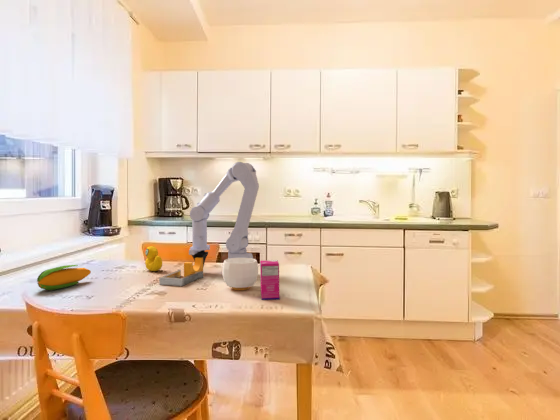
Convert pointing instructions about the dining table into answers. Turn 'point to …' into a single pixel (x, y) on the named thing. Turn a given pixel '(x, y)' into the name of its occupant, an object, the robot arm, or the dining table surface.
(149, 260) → the duckling
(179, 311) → the dining table surface
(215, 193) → the robot arm
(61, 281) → the corn
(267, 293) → the supplement box
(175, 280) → the grey shallow rectangular tray
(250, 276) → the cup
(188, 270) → the pipe clamp
